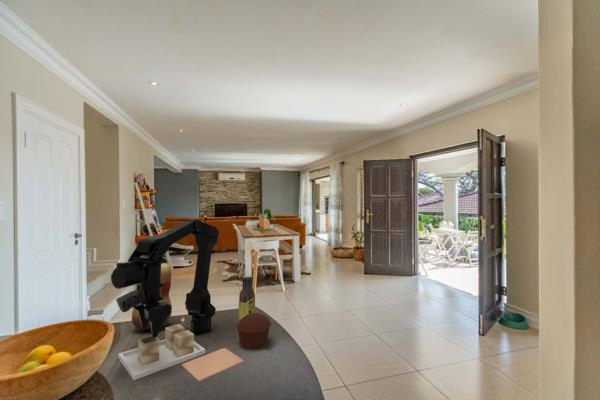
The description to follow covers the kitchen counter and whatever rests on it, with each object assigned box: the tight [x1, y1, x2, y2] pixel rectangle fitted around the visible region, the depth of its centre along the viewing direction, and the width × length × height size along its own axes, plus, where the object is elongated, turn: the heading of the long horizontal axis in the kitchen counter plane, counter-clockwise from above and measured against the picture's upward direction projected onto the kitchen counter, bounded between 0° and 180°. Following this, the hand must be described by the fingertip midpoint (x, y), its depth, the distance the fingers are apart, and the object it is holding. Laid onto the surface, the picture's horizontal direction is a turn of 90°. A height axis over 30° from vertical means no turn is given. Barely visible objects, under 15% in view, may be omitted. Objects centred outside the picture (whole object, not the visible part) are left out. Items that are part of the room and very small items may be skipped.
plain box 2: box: [173, 329, 195, 358], centre depth 88 cm, size 4×4×6 cm
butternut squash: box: [131, 263, 173, 331], centre depth 109 cm, size 14×13×25 cm
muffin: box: [236, 312, 272, 350], centre depth 96 cm, size 12×11×10 cm
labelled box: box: [137, 335, 161, 366], centre depth 84 cm, size 4×4×6 cm
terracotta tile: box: [181, 347, 245, 382], centre depth 83 cm, size 14×11×1 cm
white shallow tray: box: [117, 339, 206, 381], centre depth 87 cm, size 20×16×2 cm
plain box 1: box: [164, 323, 186, 351], centre depth 93 cm, size 4×4×6 cm
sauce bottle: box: [237, 274, 256, 323], centre depth 109 cm, size 6×6×20 cm
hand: (149, 332), depth 85 cm, fingers open, 9 cm apart
